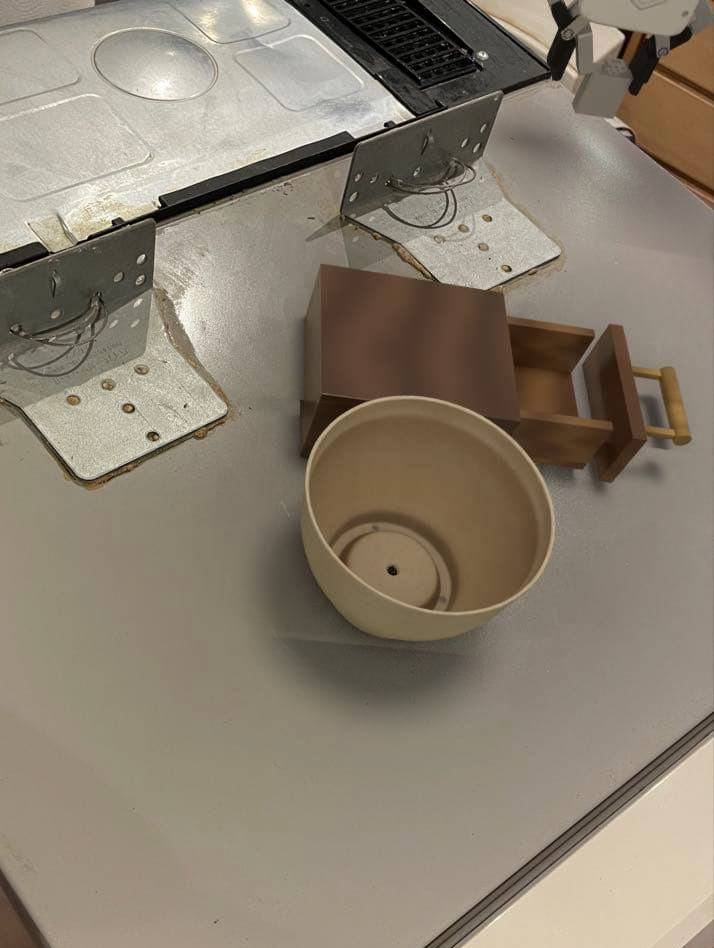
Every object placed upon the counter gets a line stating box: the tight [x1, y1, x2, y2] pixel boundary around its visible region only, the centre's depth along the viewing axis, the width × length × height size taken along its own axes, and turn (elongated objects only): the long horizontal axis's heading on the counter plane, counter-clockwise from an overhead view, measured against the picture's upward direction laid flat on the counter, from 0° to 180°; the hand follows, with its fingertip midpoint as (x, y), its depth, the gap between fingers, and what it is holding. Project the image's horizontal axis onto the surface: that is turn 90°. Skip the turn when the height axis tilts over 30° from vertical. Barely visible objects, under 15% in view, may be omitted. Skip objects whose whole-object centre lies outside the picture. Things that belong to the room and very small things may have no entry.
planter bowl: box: [300, 396, 556, 642], centre depth 66 cm, size 16×16×11 cm
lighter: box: [571, 22, 633, 120], centre depth 94 cm, size 7×2×8 cm, turn 92°
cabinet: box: [299, 263, 521, 459], centre depth 76 cm, size 15×13×8 cm
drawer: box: [507, 315, 693, 484], centre depth 78 cm, size 19×11×6 cm, turn 90°
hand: (592, 78), depth 95 cm, fingers closed on lighter, 7 cm apart
